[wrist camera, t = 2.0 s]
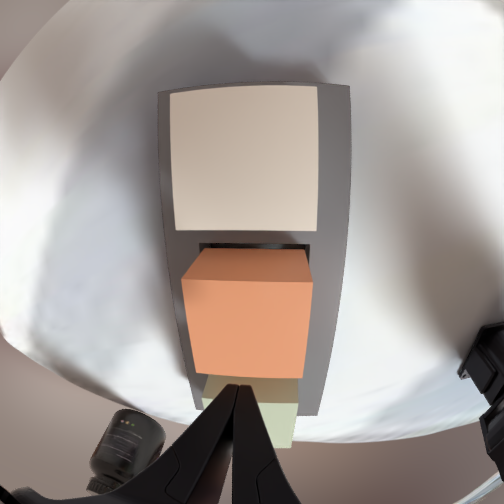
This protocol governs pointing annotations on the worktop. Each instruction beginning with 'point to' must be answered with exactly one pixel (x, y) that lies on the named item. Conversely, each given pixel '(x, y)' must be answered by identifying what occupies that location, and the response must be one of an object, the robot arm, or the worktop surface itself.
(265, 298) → the terracotta button
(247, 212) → the cream button
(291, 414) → the sage button
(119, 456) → the supplement bottle
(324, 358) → the console
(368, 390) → the worktop surface
